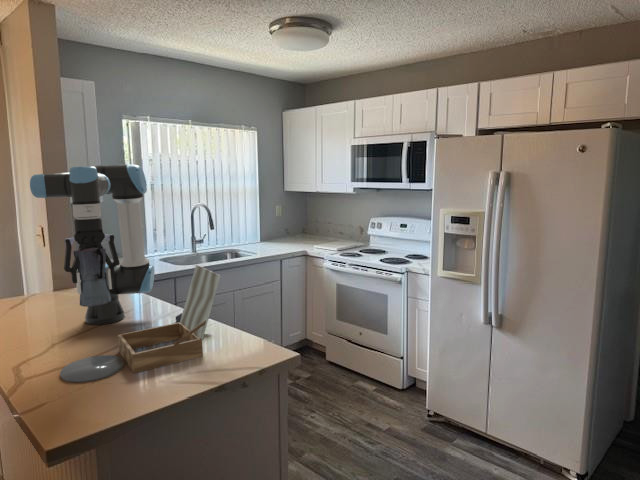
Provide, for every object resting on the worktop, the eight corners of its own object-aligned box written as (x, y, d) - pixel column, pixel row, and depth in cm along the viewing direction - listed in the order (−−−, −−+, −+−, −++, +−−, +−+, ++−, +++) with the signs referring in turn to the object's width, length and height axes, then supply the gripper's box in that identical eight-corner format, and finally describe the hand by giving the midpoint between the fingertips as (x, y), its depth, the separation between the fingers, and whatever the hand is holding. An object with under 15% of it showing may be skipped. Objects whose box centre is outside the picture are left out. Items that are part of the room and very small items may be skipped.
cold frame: (119, 351, 161) (112, 276, 157) (201, 332, 178) (197, 264, 174) (134, 373, 143) (127, 289, 139) (224, 350, 160) (220, 274, 156)
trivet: (57, 367, 149) (57, 364, 149) (117, 353, 159) (117, 351, 159) (64, 388, 134) (63, 384, 134) (129, 371, 144) (129, 368, 144)
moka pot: (99, 296, 153) (93, 236, 150) (124, 304, 144) (118, 240, 141) (69, 303, 146) (63, 240, 143) (94, 312, 136) (87, 245, 133)
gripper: (49, 221, 132) (58, 299, 135) (126, 216, 144) (132, 287, 147) (47, 219, 138) (55, 293, 141) (121, 214, 150) (126, 283, 153)
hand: (94, 290), depth 144 cm, fingers closed on moka pot, 8 cm apart
